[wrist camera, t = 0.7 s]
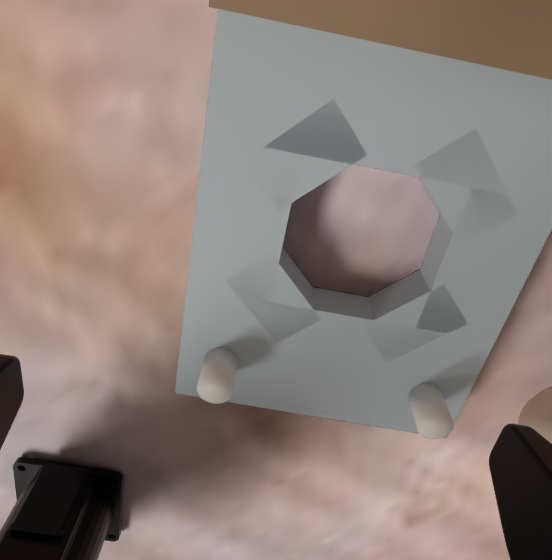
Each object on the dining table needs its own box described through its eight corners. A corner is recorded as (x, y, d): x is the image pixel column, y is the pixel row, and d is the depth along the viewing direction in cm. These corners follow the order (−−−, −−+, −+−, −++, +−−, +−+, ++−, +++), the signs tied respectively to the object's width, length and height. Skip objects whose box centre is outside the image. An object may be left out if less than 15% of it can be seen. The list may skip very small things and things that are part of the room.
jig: (436, 410, 27) (458, 470, 23) (182, 367, 26) (165, 423, 22) (617, 26, 18) (697, 30, 14) (233, -60, 17) (217, -77, 13)
